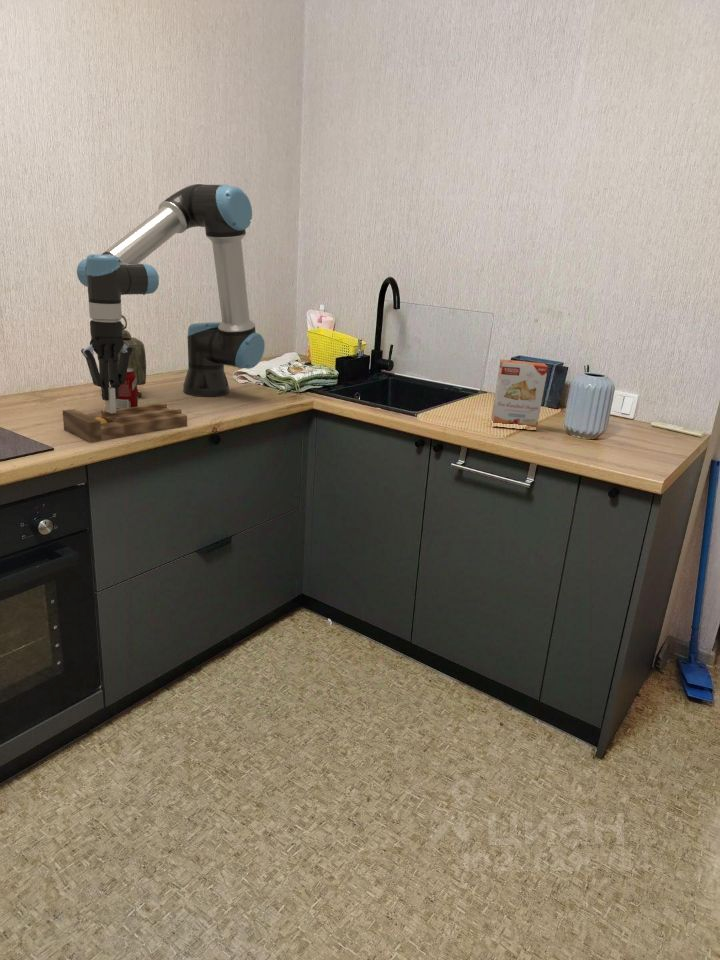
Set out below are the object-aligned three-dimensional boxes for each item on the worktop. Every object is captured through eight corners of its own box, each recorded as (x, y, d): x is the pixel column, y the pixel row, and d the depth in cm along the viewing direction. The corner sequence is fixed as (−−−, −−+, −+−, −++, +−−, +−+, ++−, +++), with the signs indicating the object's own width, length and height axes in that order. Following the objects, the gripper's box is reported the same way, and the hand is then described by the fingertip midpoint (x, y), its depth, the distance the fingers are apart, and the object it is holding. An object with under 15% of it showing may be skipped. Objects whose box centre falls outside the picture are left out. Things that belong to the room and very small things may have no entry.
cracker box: (492, 428, 205) (502, 361, 198) (490, 423, 210) (499, 358, 203) (537, 432, 204) (548, 365, 197) (533, 427, 210) (544, 362, 203)
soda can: (130, 413, 188) (128, 372, 184) (109, 410, 190) (106, 369, 186) (142, 408, 195) (140, 368, 191) (121, 405, 196) (119, 366, 192)
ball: (101, 414, 171) (86, 417, 168) (109, 417, 168) (94, 421, 165) (103, 428, 172) (89, 432, 169) (111, 432, 170) (97, 436, 167)
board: (159, 414, 190) (159, 398, 188) (187, 425, 181) (187, 408, 179) (64, 429, 170) (62, 410, 168) (90, 442, 161) (88, 422, 159)
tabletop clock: (147, 398, 207) (144, 318, 198) (119, 401, 201) (114, 318, 193) (129, 389, 217) (125, 312, 208) (102, 391, 211) (97, 312, 203)
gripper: (122, 317, 169) (126, 405, 177) (73, 318, 160) (79, 412, 168) (137, 321, 165) (141, 411, 173) (87, 322, 155) (94, 418, 163)
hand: (110, 411), depth 170 cm, fingers closed
